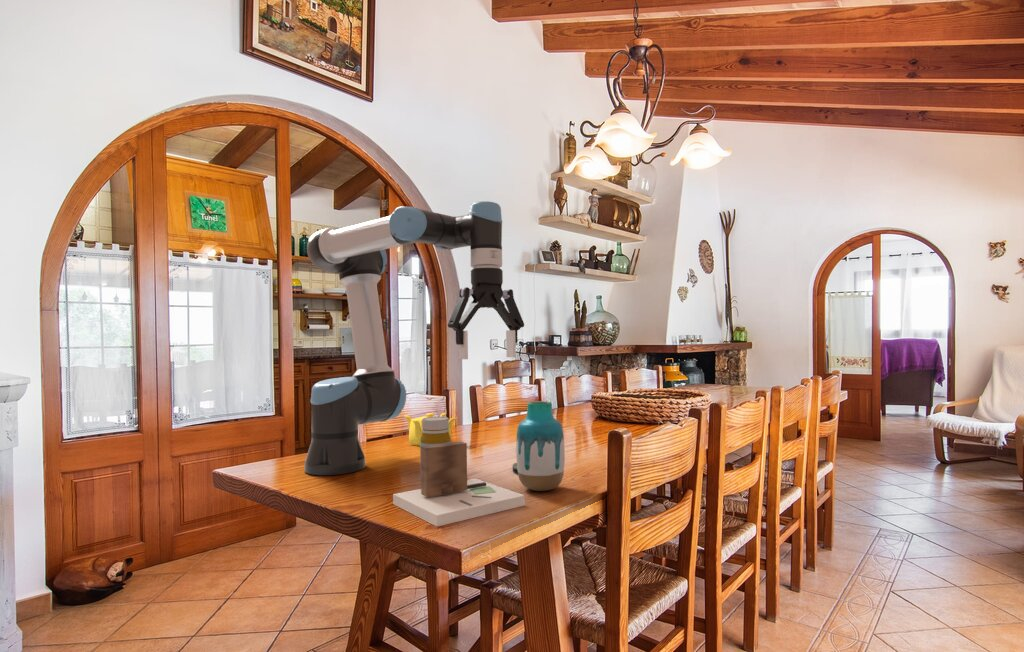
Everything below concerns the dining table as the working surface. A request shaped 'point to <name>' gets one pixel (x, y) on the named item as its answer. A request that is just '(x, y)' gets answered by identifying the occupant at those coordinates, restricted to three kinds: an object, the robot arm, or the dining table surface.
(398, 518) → the dining table surface
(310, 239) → the robot arm
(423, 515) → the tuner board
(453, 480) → the brown wooden block
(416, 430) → the teapot
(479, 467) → the dining table surface
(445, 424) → the bottle
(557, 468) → the vase
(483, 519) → the dining table surface
